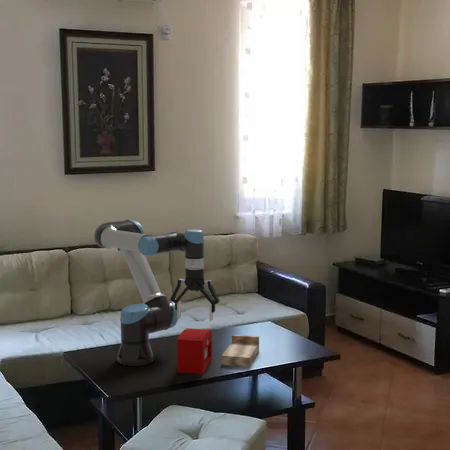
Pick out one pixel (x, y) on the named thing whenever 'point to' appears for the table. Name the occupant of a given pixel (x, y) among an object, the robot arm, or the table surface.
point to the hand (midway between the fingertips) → (195, 319)
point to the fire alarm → (194, 350)
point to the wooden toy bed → (241, 351)
